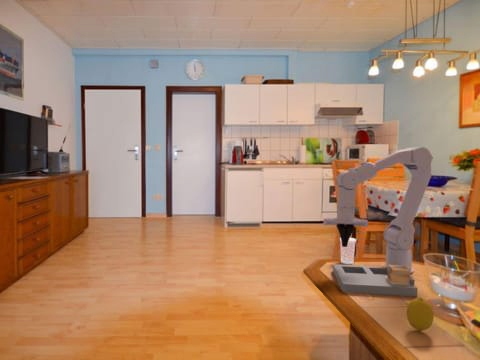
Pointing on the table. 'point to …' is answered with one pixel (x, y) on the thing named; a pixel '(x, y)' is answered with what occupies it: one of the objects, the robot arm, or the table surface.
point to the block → (398, 274)
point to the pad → (397, 283)
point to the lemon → (420, 314)
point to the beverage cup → (348, 251)
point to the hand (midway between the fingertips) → (344, 246)
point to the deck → (370, 281)
